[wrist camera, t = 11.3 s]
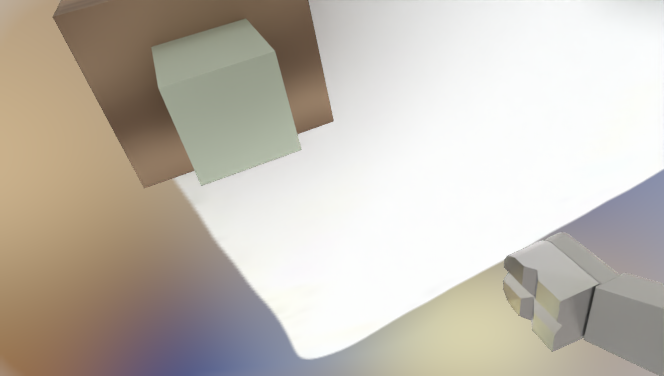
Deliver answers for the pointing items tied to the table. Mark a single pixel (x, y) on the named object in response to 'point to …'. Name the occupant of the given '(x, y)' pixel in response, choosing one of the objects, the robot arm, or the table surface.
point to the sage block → (226, 99)
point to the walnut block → (140, 77)
